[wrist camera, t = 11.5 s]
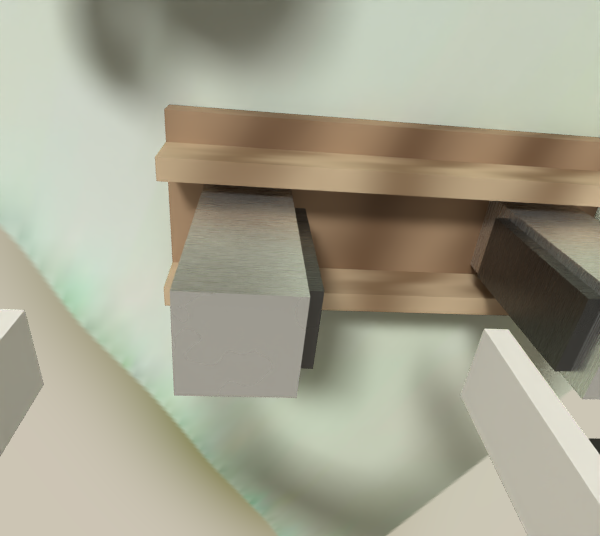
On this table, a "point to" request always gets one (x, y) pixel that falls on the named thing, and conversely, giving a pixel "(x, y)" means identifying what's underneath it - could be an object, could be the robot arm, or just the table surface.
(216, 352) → the block
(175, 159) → the rail
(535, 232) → the finger
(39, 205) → the table surface
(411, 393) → the table surface
